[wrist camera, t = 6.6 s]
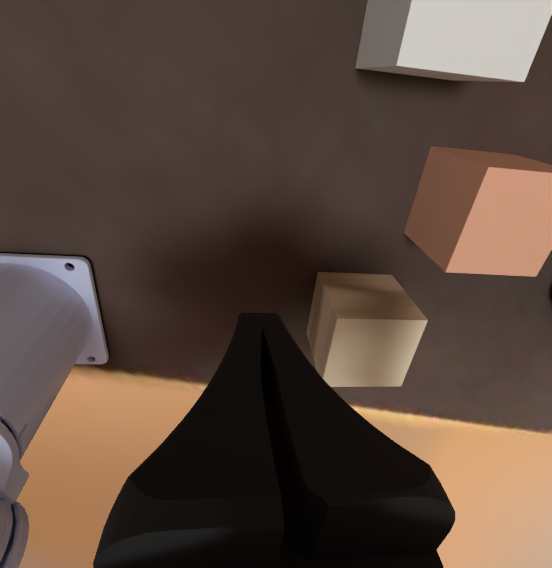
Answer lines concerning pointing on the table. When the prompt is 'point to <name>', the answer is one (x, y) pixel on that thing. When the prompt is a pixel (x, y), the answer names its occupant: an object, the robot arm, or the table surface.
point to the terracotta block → (483, 212)
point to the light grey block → (453, 38)
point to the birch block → (362, 329)
